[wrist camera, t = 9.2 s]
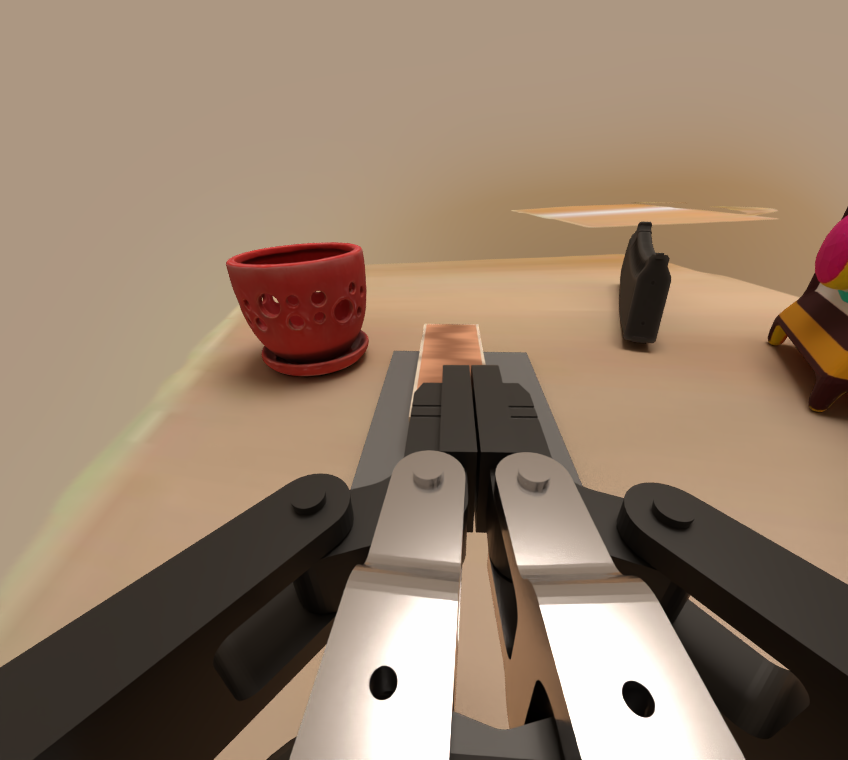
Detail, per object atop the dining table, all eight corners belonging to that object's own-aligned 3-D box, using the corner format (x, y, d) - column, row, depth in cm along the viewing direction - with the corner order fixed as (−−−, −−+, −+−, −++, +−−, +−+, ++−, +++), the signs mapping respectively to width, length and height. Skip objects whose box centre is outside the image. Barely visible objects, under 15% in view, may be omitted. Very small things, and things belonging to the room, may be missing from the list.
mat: (525, 357, 42) (526, 352, 41) (589, 514, 23) (591, 507, 22) (394, 355, 43) (393, 350, 42) (348, 505, 24) (347, 498, 23)
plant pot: (371, 332, 49) (362, 237, 43) (375, 380, 38) (363, 259, 32) (268, 340, 47) (244, 241, 41) (240, 392, 36) (202, 267, 30)
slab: (492, 452, 27) (476, 349, 42) (495, 417, 25) (478, 323, 41) (410, 450, 27) (424, 348, 43) (408, 415, 26) (424, 322, 41)
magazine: (680, 280, 36) (670, 174, 54) (642, 277, 37) (645, 174, 56) (633, 397, 48) (638, 278, 66) (606, 392, 49) (618, 276, 68)
